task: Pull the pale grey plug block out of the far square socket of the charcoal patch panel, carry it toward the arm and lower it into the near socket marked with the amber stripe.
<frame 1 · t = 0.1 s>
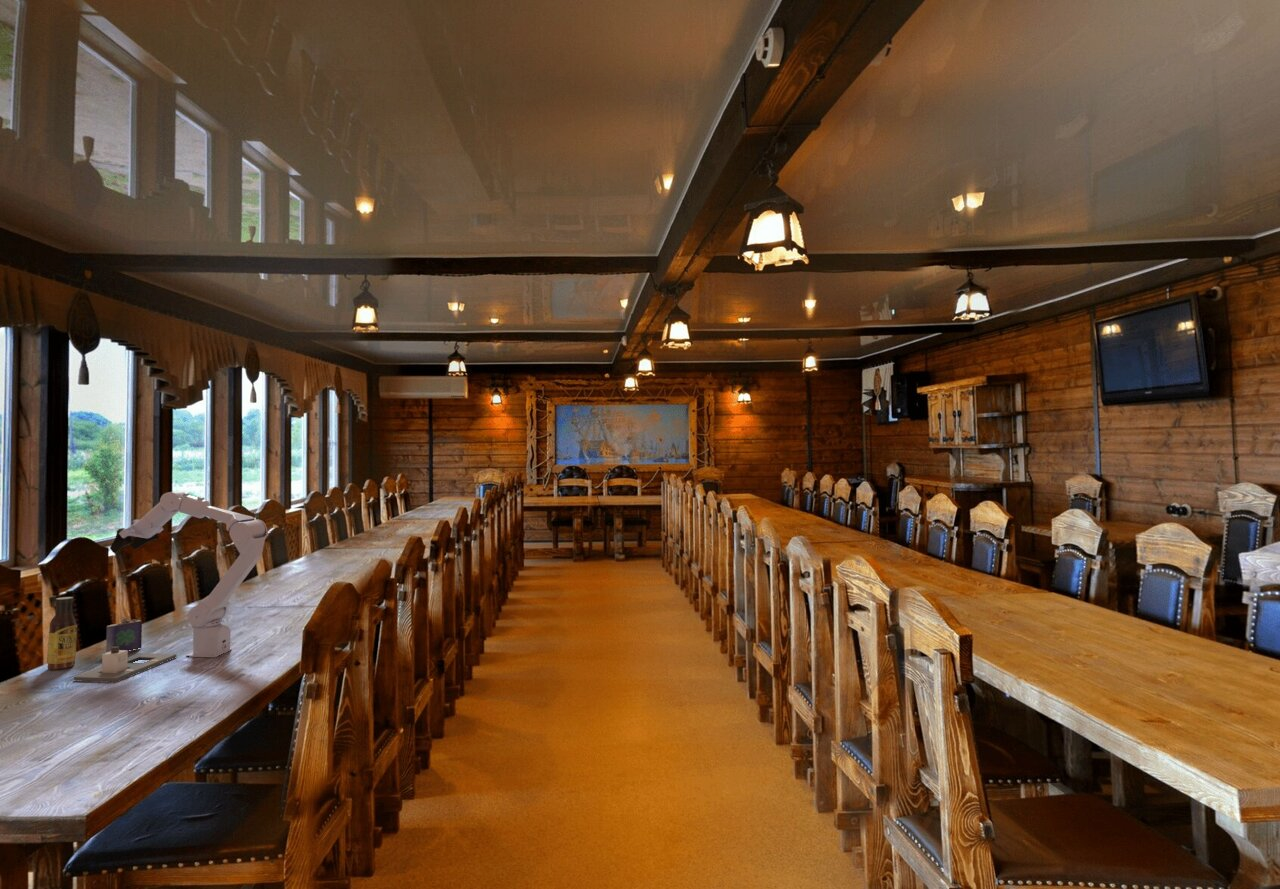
hand: (122, 548, 213), 32 cm above the table, tool tilted 50°, fingers open, 7 cm apart
flask: (123, 652, 213), on the table
sauce bottle: (62, 668, 197), on the table
patch panel: (127, 669, 196), on the table
plug: (114, 673, 192), resting on patch panel
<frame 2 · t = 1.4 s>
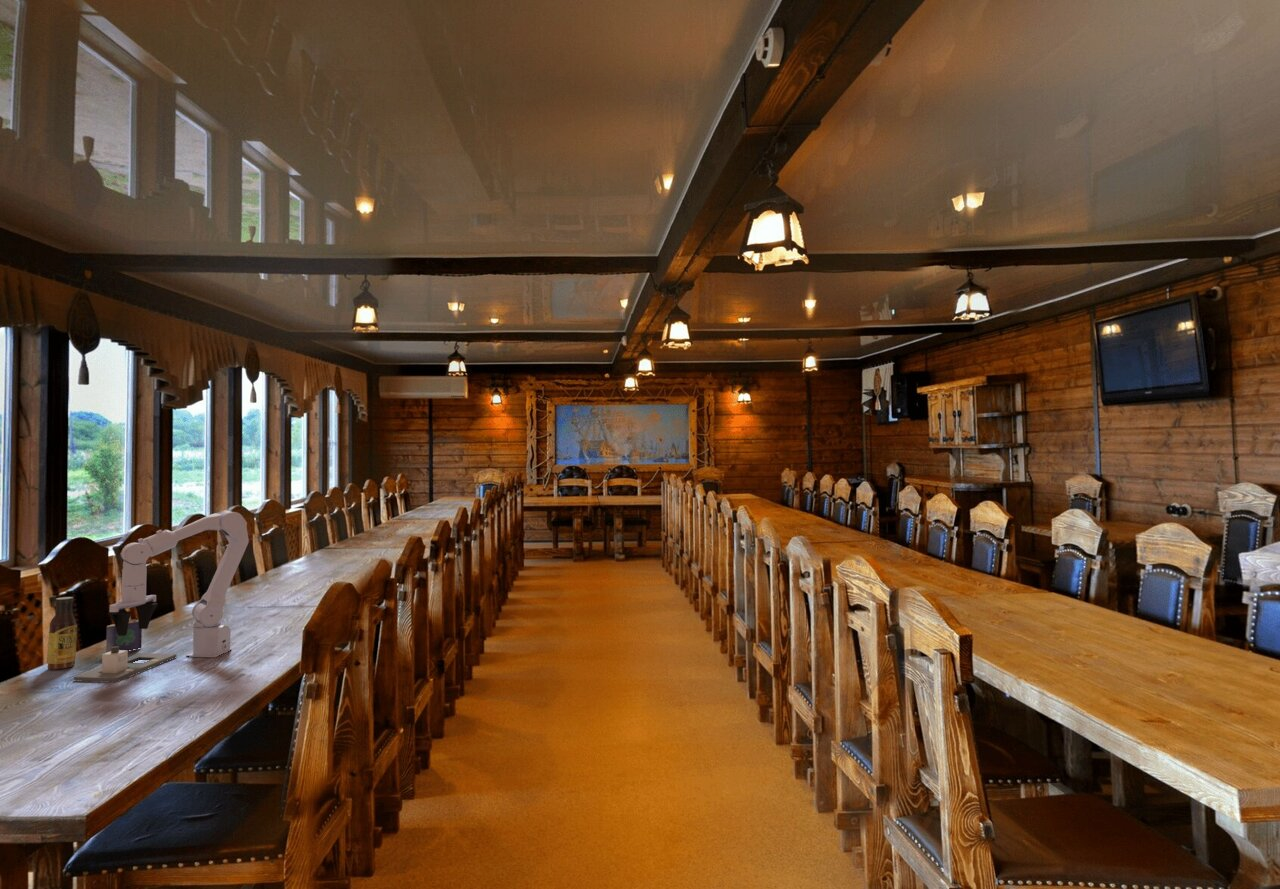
hand: (132, 631, 198), 10 cm above the table, tool pointing down, fingers open, 7 cm apart
nothing on the table moved.
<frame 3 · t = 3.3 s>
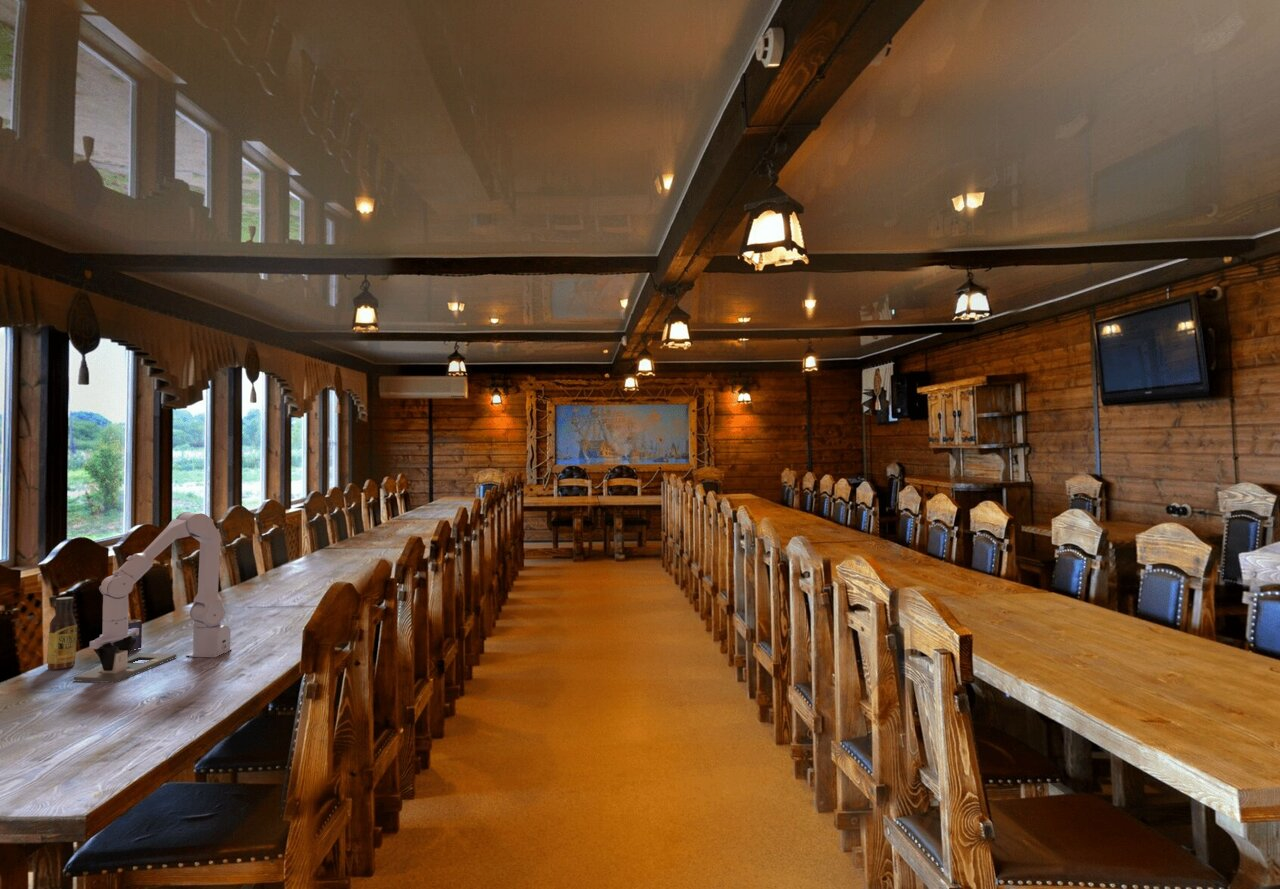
hand: (114, 667, 192), 2 cm above the table, tool pointing down, fingers closed on plug, 4 cm apart
plug: (114, 673, 192), resting on patch panel, touching gripper
everything else where it was.
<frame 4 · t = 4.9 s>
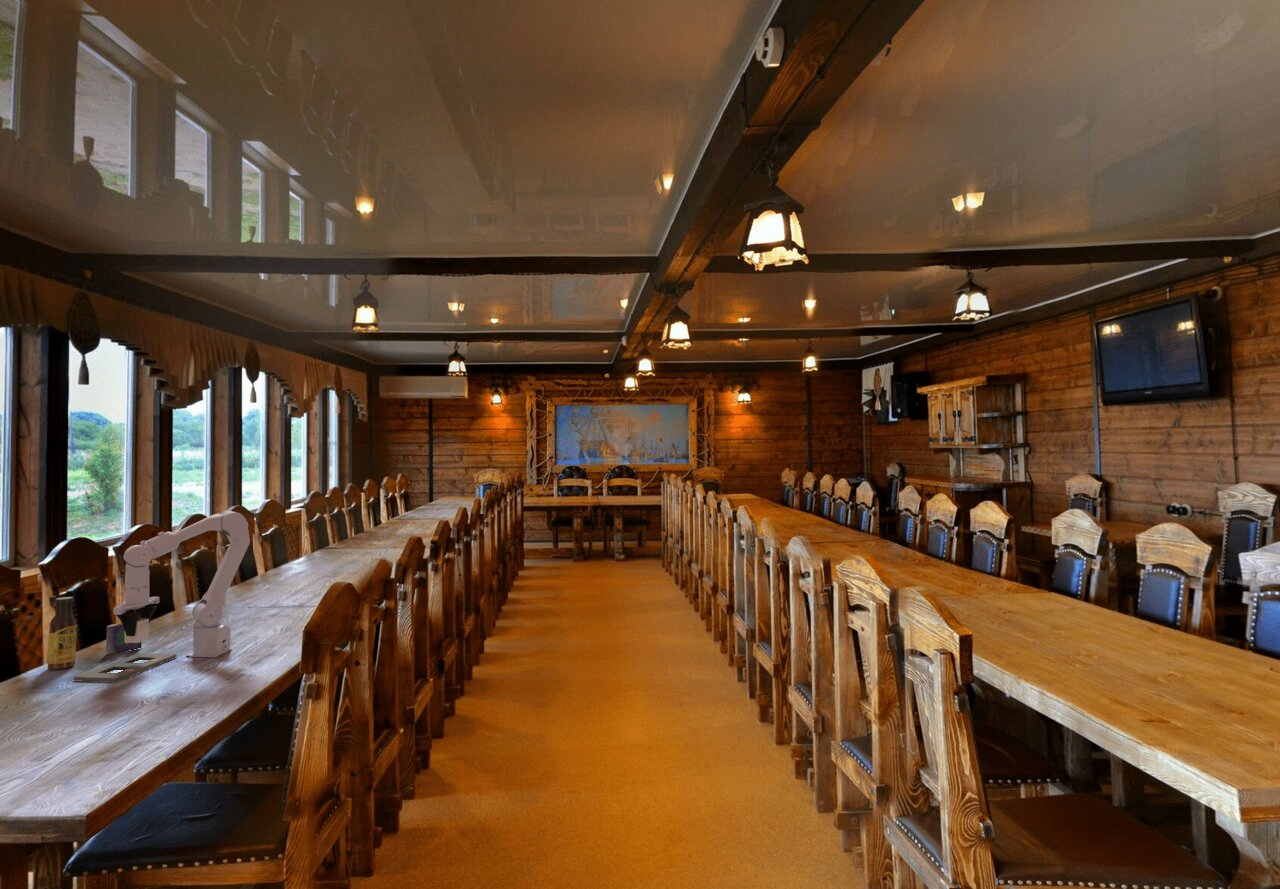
hand: (137, 633, 199), 9 cm above the table, tool pointing down, fingers closed on plug, 4 cm apart
plug: (136, 640, 199), point 7 cm above the table, touching gripper
everything else where it was.
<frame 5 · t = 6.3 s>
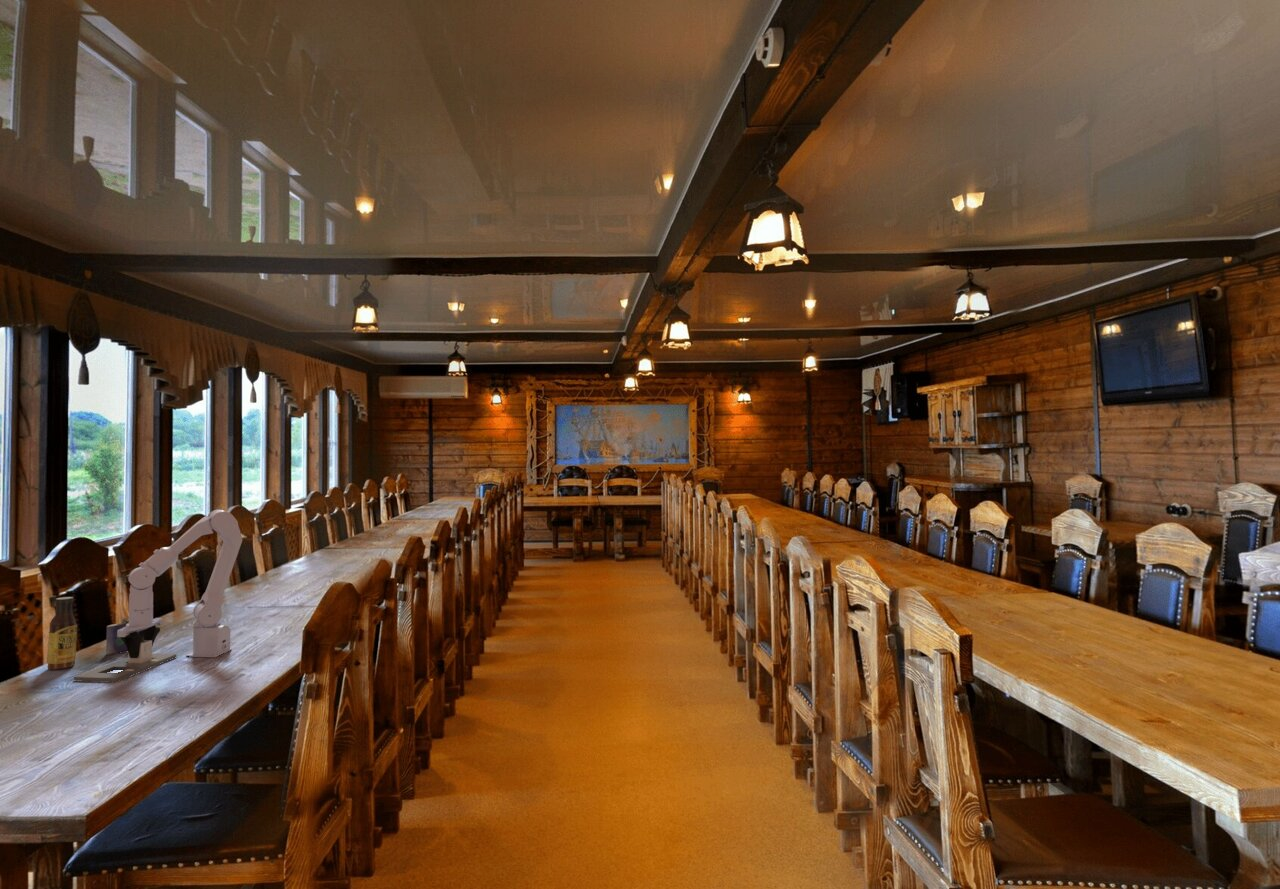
hand: (140, 655, 201), 3 cm above the table, tool pointing down, fingers closed on plug, 4 cm apart
plug: (139, 662, 201), point 1 cm above the table, touching gripper
everything else where it was.
when the fingers open (2 cm above the table, at t = 6.8 s): plug stays where it is, resting on patch panel.
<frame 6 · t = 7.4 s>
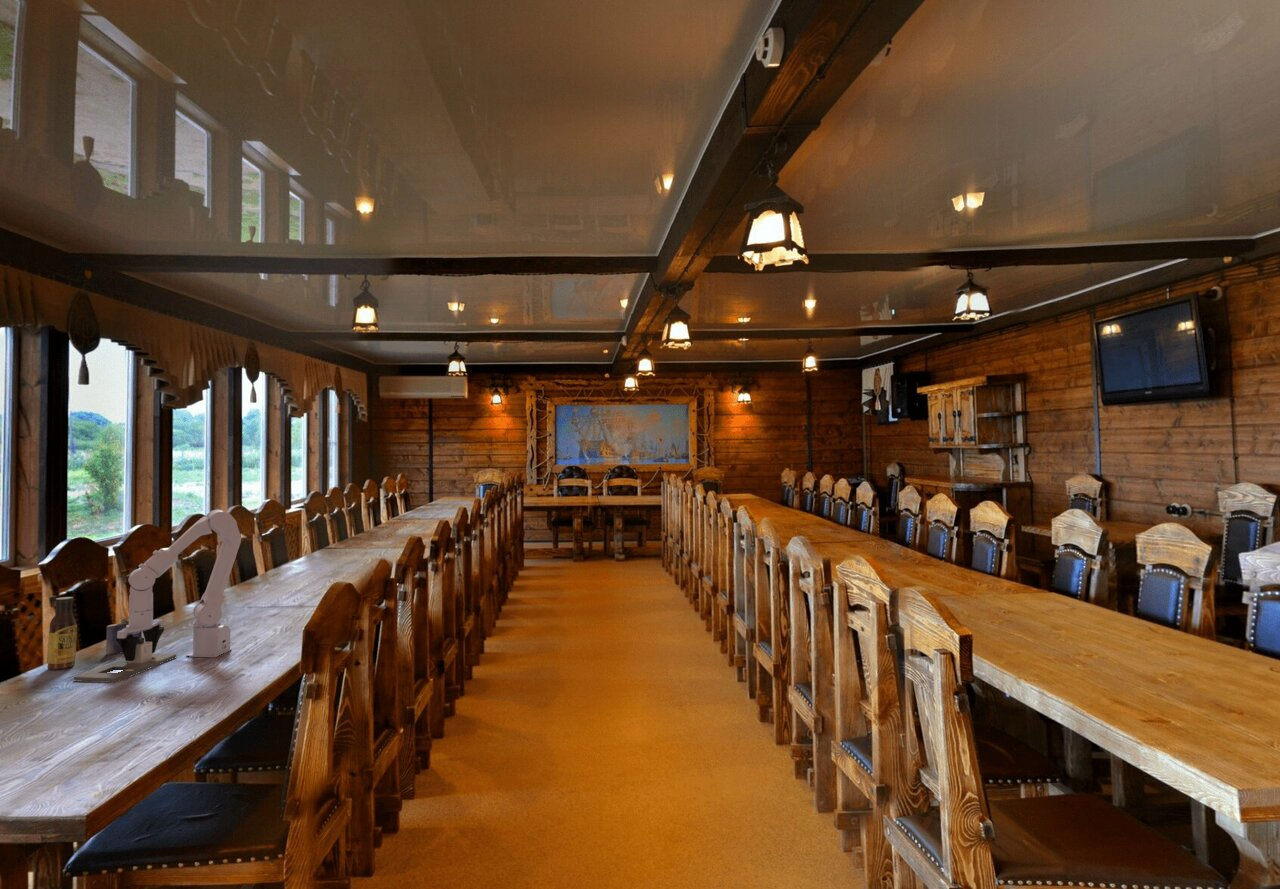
hand: (140, 656, 201), 2 cm above the table, tool pointing down, fingers open, 7 cm apart
plug: (140, 663, 201), resting on patch panel
everything else where it was.
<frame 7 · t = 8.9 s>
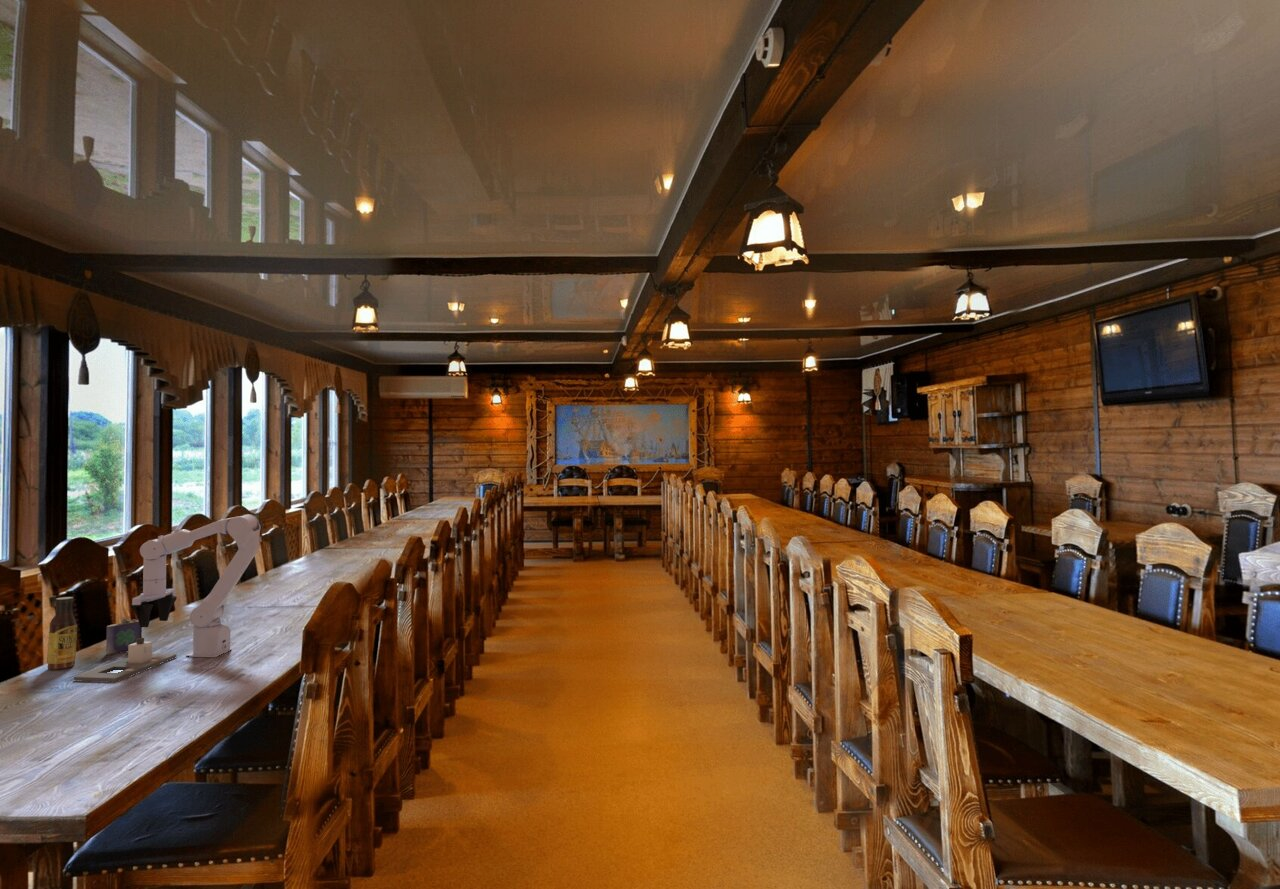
hand: (154, 623, 208), 10 cm above the table, tool pointing down, fingers open, 7 cm apart
nothing on the table moved.
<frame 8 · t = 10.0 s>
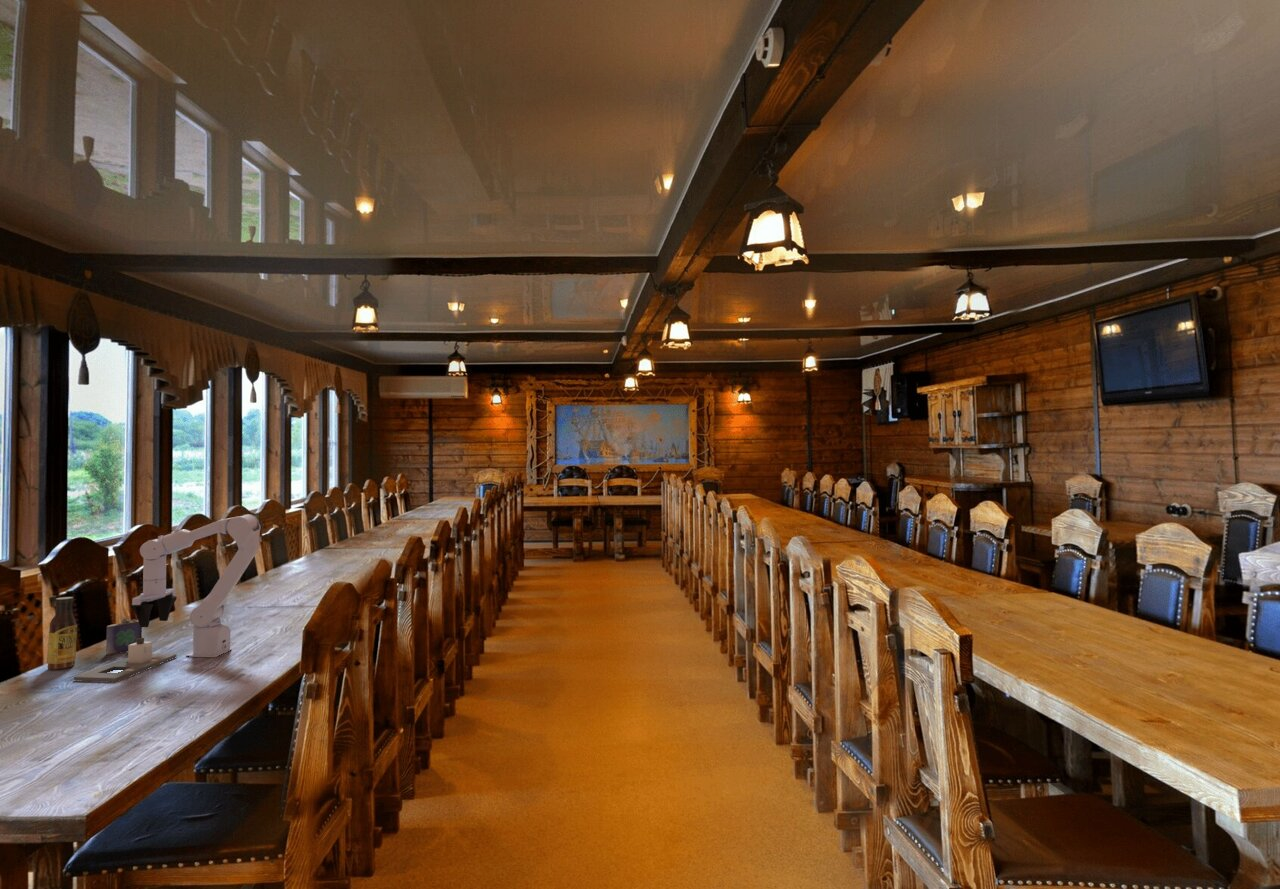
hand: (154, 623, 208), 10 cm above the table, tool pointing down, fingers open, 7 cm apart
nothing on the table moved.
at the end: plug 0.1 cm from the target spot on the patch panel, point 0.1 cm above the patch panel's base; plug tilted 0°; the gripper is holding nothing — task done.
